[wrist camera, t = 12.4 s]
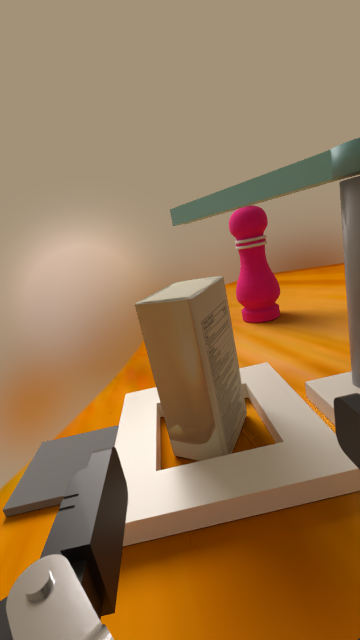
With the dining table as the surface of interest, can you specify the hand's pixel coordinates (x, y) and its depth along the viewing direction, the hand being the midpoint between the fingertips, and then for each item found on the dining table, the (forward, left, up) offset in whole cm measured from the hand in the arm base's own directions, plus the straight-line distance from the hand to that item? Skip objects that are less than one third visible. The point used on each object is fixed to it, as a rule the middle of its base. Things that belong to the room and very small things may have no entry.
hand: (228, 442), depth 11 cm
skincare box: (-8, -8, -8) cm, 14 cm away
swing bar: (-19, -7, +9) cm, 22 cm away
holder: (-11, -5, -8) cm, 15 cm away
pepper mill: (-38, -17, -8) cm, 43 cm away
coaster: (-1, -16, -8) cm, 18 cm away
